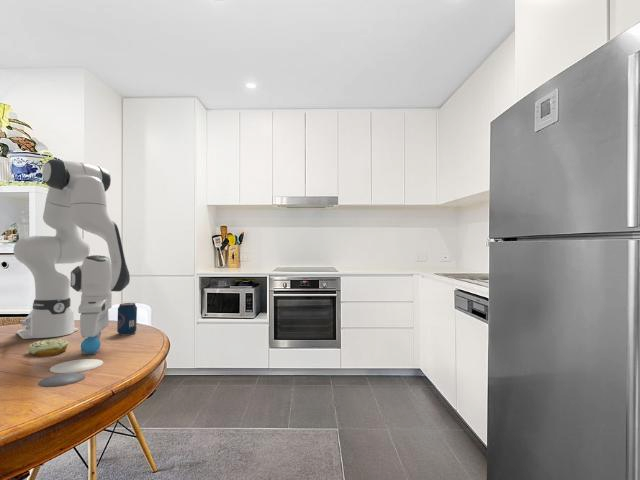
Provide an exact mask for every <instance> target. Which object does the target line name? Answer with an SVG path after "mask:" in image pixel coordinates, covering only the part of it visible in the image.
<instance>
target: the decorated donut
mask: <svg viewBox="0 0 640 480" xmlns="http://www.w3.org/2000/svg"><path fill="white" fill-rule="evenodd" d="M68 343H69V342H68V341H67V340H66V339H60V338H58V339H57V338H51V339H49V338H48V339H44V340H38V341H34V342H33V343H31V344H29V345H28V351H29V353H30V354H31V355H32V356H36V357H50V356H54V355H58V354H62V353H63V352H65V351H66V350H67V349H68V346H69V344H68Z"/></svg>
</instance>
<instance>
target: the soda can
mask: <svg viewBox="0 0 640 480" xmlns="http://www.w3.org/2000/svg"><path fill="white" fill-rule="evenodd" d="M137 318H138V307H137V305H136V303H135V302H124V303H123V302H122V303H119V306H118V308H117V321H116V322H117V328H116V329H117V331H116V332H117V333H118V335H120V336H130V335H133V334H134V335H135V334H136V332H137V324H138V323H137V320H138V319H137Z"/></svg>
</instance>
